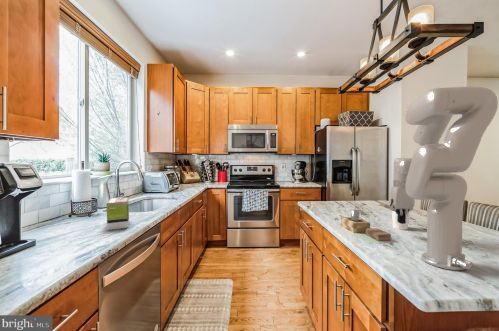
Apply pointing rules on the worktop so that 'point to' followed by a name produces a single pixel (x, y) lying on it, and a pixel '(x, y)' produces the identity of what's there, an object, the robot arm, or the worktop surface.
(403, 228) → the white cup
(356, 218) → the silver cylinder
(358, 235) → the mat
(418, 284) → the worktop surface
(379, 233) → the walnut bar
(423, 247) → the worktop surface
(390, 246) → the worktop surface
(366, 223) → the slot block
